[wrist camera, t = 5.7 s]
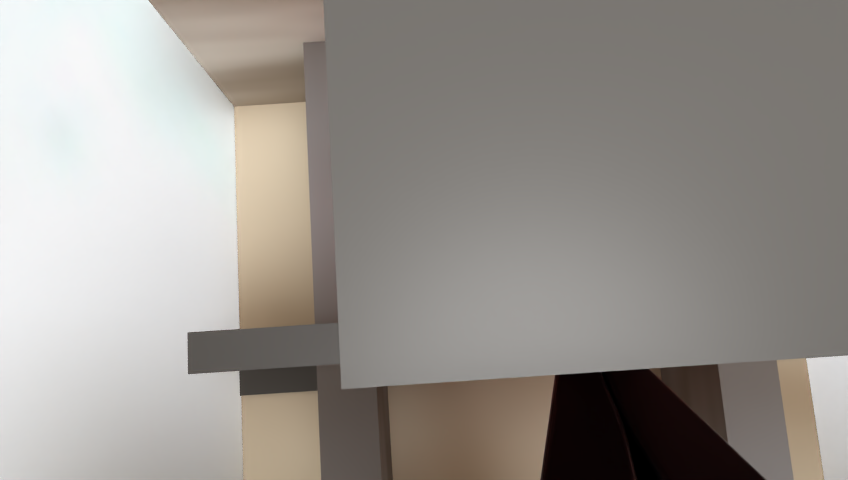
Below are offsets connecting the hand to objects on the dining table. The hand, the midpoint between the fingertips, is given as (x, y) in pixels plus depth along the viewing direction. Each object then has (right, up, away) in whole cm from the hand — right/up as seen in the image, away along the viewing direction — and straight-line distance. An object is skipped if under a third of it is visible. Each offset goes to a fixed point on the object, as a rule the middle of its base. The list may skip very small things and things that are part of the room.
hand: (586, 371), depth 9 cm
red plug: (0, +1, +7) cm, 7 cm away
